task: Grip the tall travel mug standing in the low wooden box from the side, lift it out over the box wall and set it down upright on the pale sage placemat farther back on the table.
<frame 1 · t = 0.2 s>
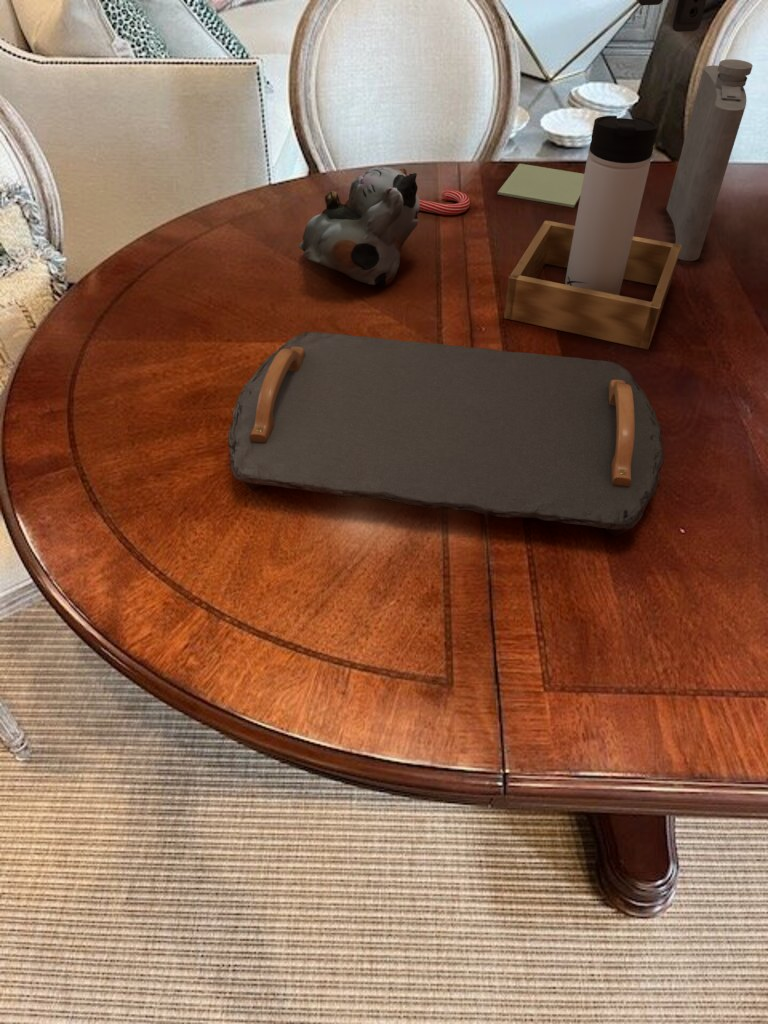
hand: (665, 16, 64), 30 cm above the table, tool pointing down, fingers open, 8 cm apart
lucky cat figurine: (358, 267, 96), on the table
wooden box: (589, 300, 90), on the table
placemat: (545, 186, 113), on the table
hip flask: (685, 233, 102), on the table
travel mug: (589, 302, 90), resting in wooden box
serving tray: (442, 441, 73), on the table
candy cane: (415, 205, 108), on the table
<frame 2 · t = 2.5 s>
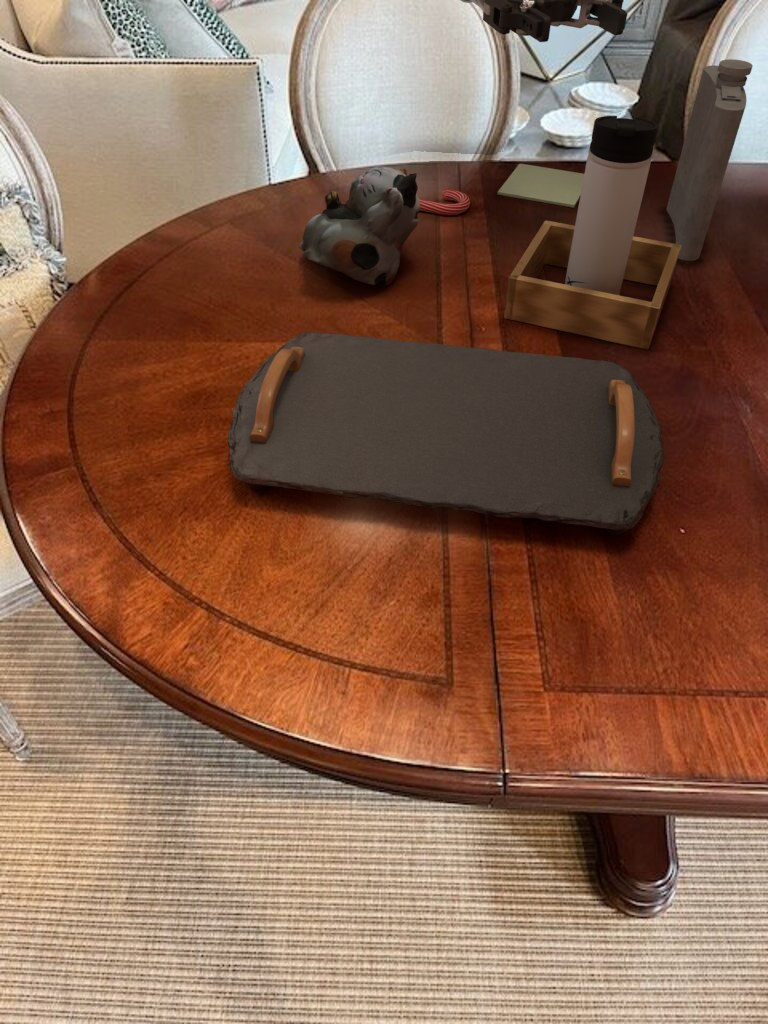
hand: (585, 27, 79), 25 cm above the table, tool horizontal, fingers open, 8 cm apart
nothing on the table moved.
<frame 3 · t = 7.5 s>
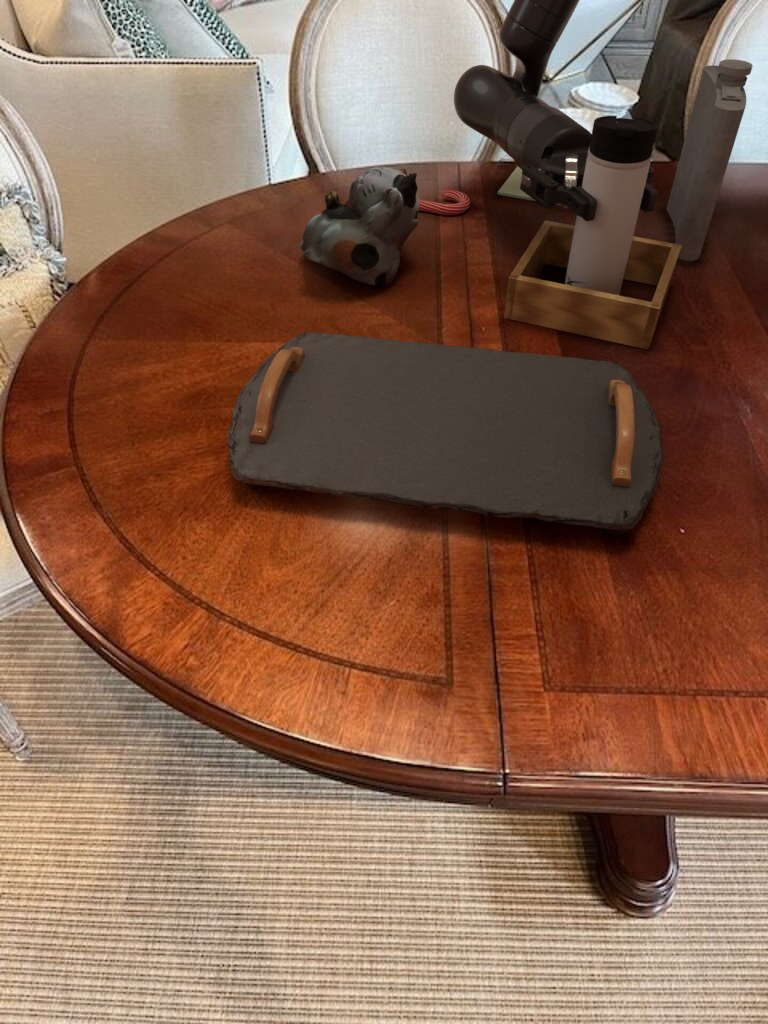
hand: (622, 207, 80), 12 cm above the table, tool horizontal, fingers closed on travel mug, 6 cm apart
travel mug: (589, 302, 90), resting in wooden box, touching gripper
everything else where it was.
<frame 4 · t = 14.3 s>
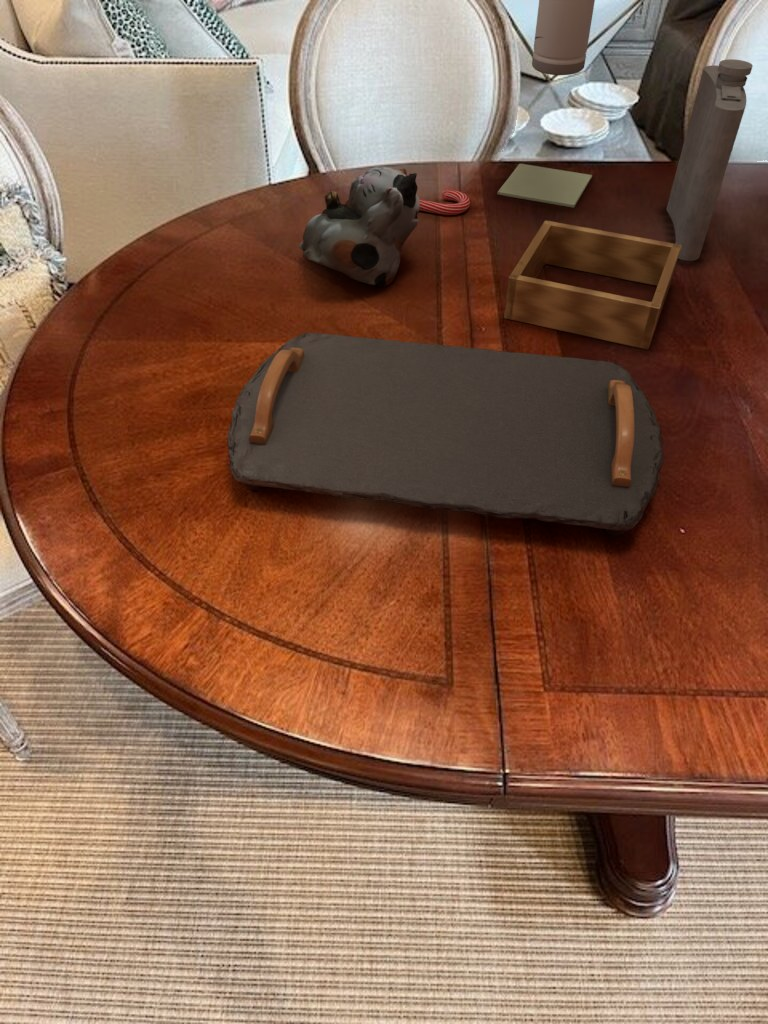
travel mug: (556, 69, 94), point 17 cm above the table, touching gripper
everything else where it was.
when the fingers open (12 cm above the table, at t = 21.0 s): travel mug stays where it is, resting on placemat.
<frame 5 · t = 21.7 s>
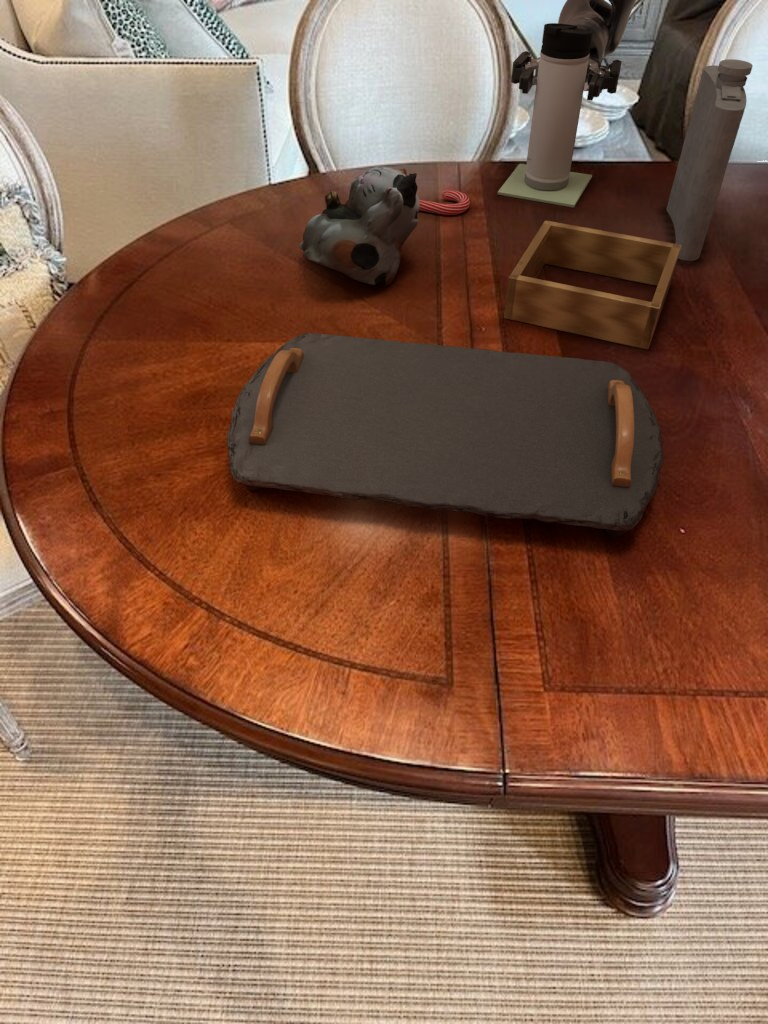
hand: (558, 88, 102), 13 cm above the table, tool horizontal, fingers open, 8 cm apart
travel mug: (545, 184, 113), resting on placemat
everything else where it was.
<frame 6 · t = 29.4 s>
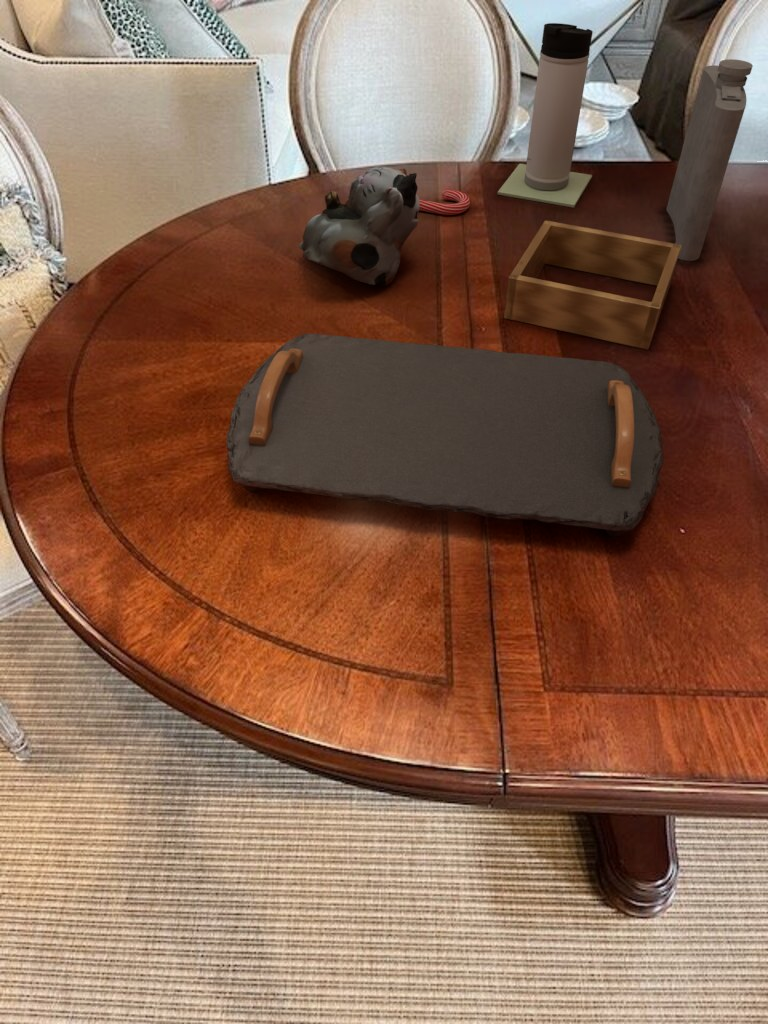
nothing on the table moved.
at the end: travel mug inside the target area on the placemat (0.1 cm from its centre), point 0.2 cm above the placemat's base; travel mug tilted 0°; the gripper is holding nothing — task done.
